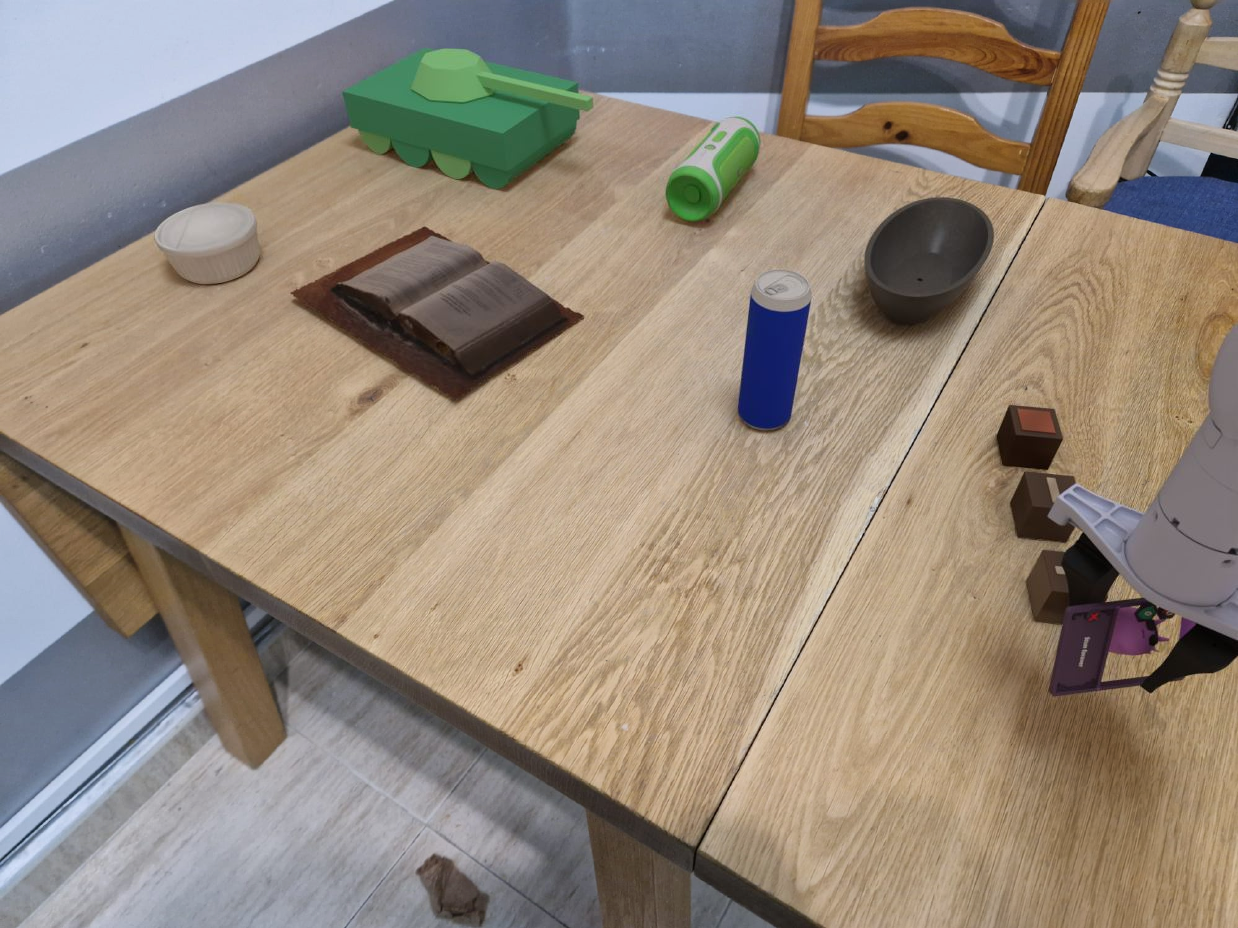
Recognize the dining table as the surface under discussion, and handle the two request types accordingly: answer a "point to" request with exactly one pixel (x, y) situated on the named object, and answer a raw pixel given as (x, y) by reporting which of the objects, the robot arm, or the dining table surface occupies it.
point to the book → (439, 309)
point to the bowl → (926, 257)
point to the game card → (1105, 643)
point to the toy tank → (465, 114)
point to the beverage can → (773, 348)
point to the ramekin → (210, 242)
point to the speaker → (713, 169)
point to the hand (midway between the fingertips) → (1115, 652)
